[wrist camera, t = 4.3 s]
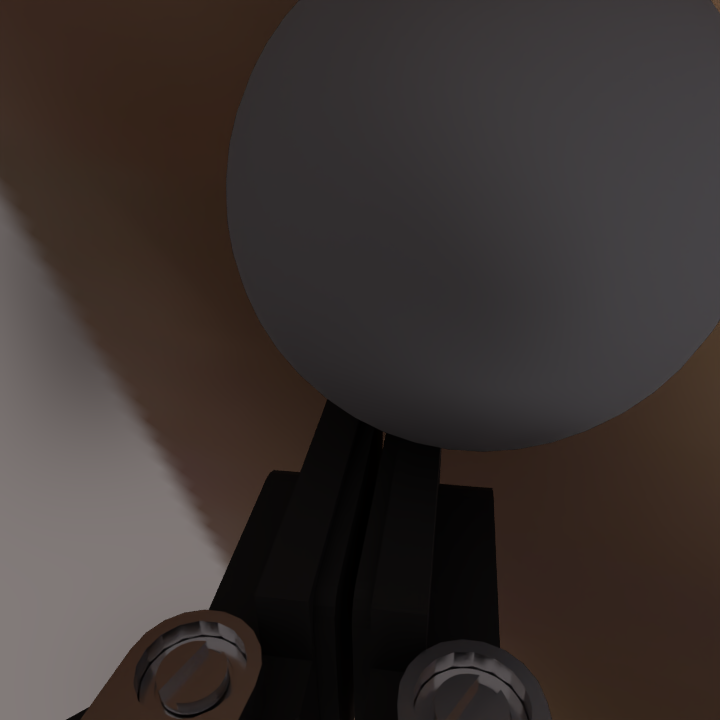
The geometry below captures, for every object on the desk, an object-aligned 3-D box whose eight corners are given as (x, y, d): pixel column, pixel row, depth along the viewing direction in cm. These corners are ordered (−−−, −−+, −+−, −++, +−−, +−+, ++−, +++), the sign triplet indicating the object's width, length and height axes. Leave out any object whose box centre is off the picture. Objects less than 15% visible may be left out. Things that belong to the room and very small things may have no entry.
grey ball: (639, 473, 9) (914, 513, 4) (267, 424, 10) (67, 402, 5) (668, 110, 10) (941, -290, 5) (315, 89, 11) (188, -276, 5)
